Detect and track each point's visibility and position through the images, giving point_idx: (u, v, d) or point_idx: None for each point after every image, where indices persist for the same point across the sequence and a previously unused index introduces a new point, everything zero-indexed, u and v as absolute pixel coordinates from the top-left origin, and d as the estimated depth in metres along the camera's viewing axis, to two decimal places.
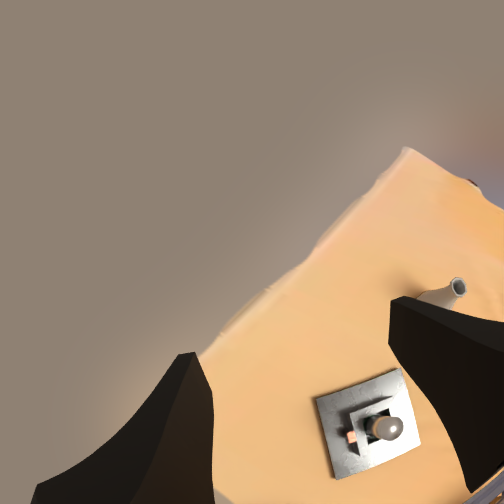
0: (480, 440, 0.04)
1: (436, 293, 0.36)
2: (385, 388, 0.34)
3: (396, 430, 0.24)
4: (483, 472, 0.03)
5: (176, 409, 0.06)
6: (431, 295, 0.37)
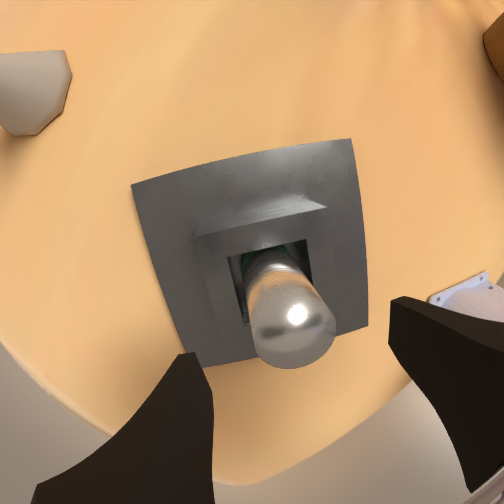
0: (480, 440, 0.04)
1: None
2: (177, 229, 0.16)
3: (307, 323, 0.10)
4: (483, 472, 0.03)
5: (176, 409, 0.06)
6: None
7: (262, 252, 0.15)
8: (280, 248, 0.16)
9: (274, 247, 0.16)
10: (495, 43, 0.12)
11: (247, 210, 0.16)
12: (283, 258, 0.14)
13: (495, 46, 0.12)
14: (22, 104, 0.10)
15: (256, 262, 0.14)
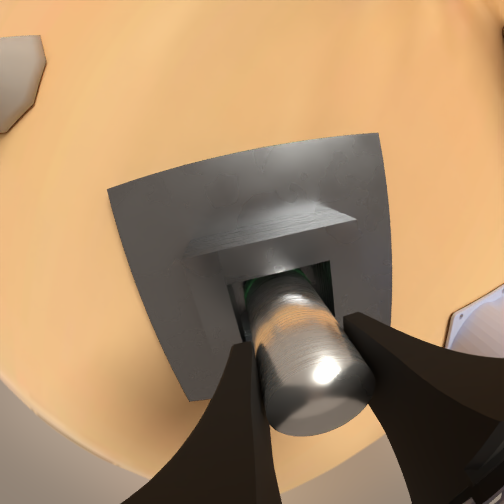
0: (425, 478, 0.04)
1: None
2: (164, 245, 0.13)
3: (339, 388, 0.06)
4: None
5: (252, 398, 0.06)
6: None
7: (271, 275, 0.12)
8: (294, 269, 0.13)
9: None
10: None
11: (252, 221, 0.13)
12: (300, 286, 0.11)
13: None
14: None
15: (264, 291, 0.11)
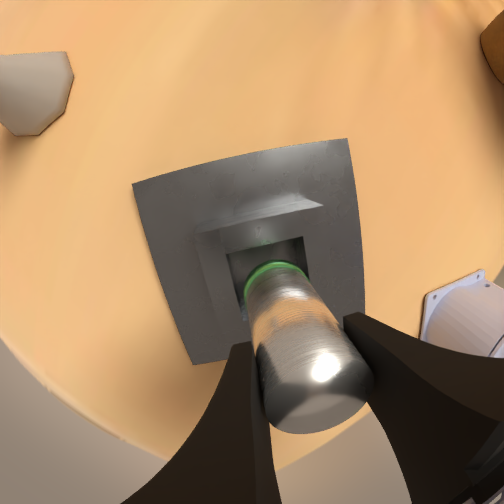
0: (425, 478, 0.04)
1: None
2: (177, 227, 0.17)
3: (338, 386, 0.06)
4: None
5: (252, 398, 0.06)
6: None
7: (271, 274, 0.12)
8: (293, 268, 0.13)
9: (286, 267, 0.12)
10: (492, 43, 0.12)
11: (245, 208, 0.17)
12: (299, 284, 0.11)
13: (492, 46, 0.12)
14: (25, 105, 0.11)
15: (264, 290, 0.11)
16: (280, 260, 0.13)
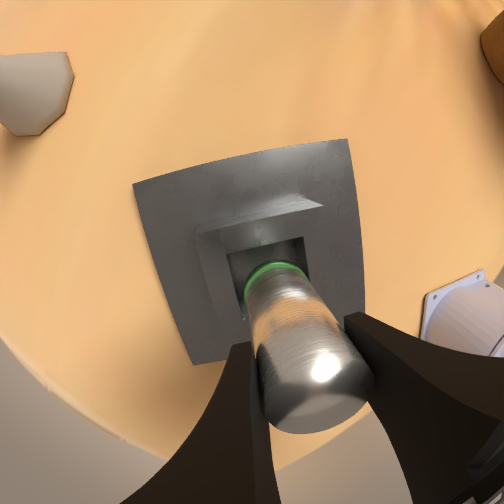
0: (426, 477, 0.04)
1: None
2: (177, 227, 0.17)
3: (338, 386, 0.07)
4: None
5: (252, 398, 0.06)
6: None
7: (271, 274, 0.12)
8: (293, 268, 0.13)
9: (286, 267, 0.13)
10: (492, 43, 0.12)
11: (245, 209, 0.17)
12: (299, 285, 0.11)
13: (492, 46, 0.12)
14: (25, 105, 0.11)
15: (264, 290, 0.11)
16: (280, 260, 0.13)
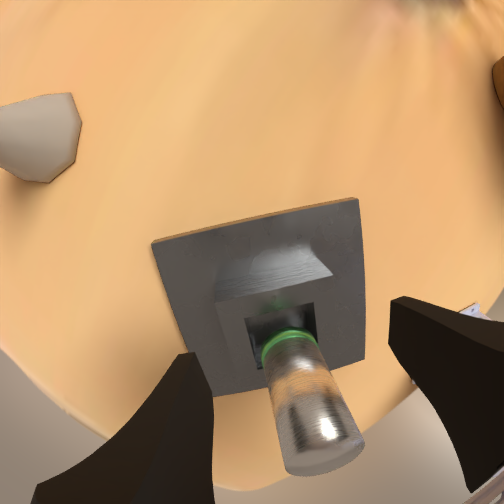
0: (480, 440, 0.04)
1: None
2: (196, 285, 0.18)
3: (338, 450, 0.08)
4: (483, 472, 0.03)
5: (176, 409, 0.06)
6: (0, 166, 0.11)
7: (286, 346, 0.13)
8: (305, 337, 0.14)
9: (299, 337, 0.14)
10: None
11: (260, 269, 0.18)
12: (311, 359, 0.12)
13: None
14: (33, 158, 0.12)
15: (281, 363, 0.12)
16: (293, 327, 0.15)
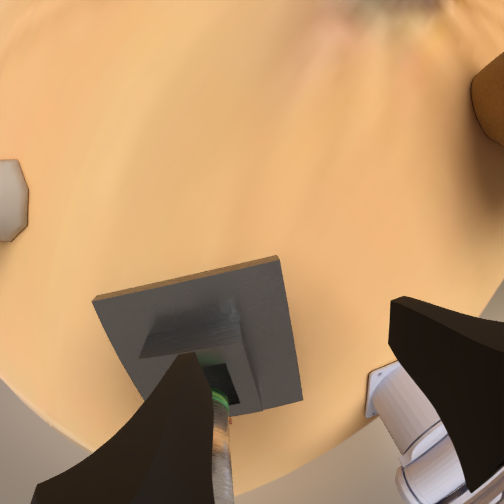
0: (480, 440, 0.04)
1: None
2: (132, 336, 0.19)
3: None
4: (483, 472, 0.03)
5: (176, 409, 0.06)
6: None
7: None
8: None
9: None
10: (484, 96, 0.14)
11: (184, 325, 0.19)
12: None
13: (483, 100, 0.14)
14: None
15: None
16: None
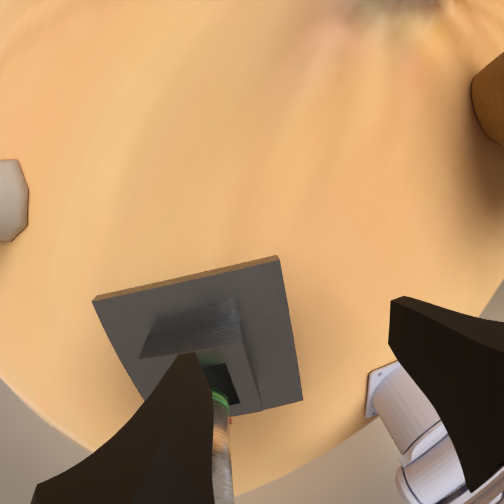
0: (480, 440, 0.04)
1: None
2: (132, 336, 0.19)
3: None
4: (483, 472, 0.03)
5: (176, 409, 0.06)
6: None
7: None
8: None
9: None
10: (484, 96, 0.14)
11: (184, 325, 0.19)
12: None
13: (483, 100, 0.14)
14: None
15: None
16: None
